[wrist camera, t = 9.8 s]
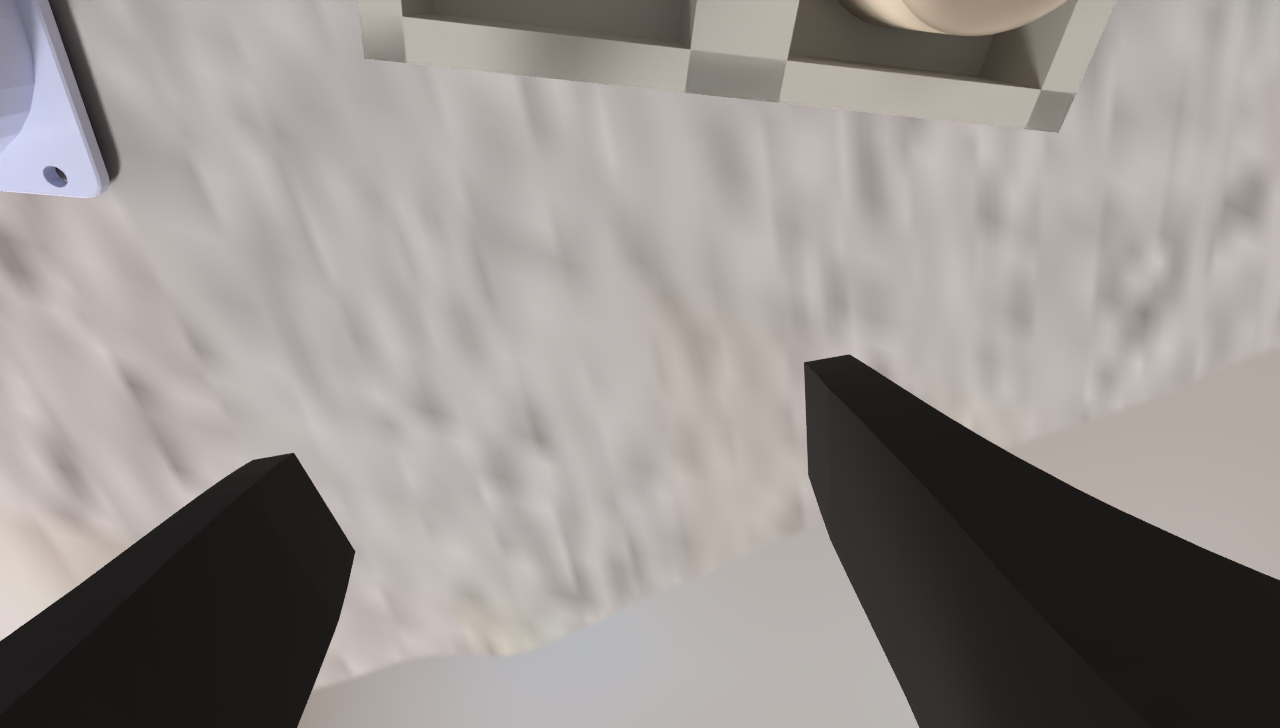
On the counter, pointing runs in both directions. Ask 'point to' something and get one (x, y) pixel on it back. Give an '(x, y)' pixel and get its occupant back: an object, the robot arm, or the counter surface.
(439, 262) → the counter surface
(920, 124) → the counter surface
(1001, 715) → the robot arm
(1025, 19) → the pale egg
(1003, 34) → the carton
